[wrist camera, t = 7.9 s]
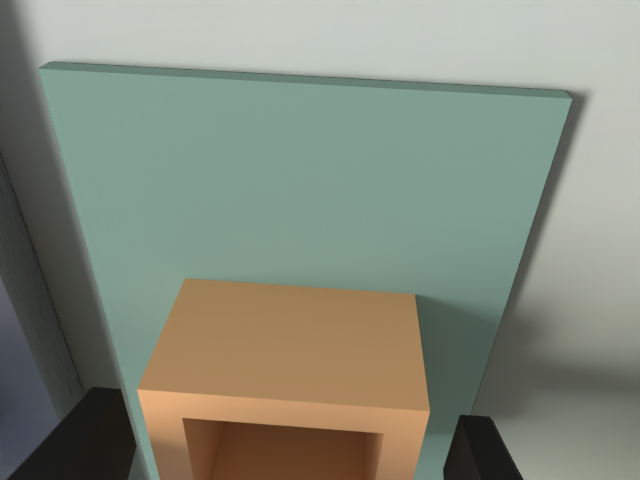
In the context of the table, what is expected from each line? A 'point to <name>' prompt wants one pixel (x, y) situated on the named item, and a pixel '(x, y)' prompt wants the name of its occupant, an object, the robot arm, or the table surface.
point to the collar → (286, 384)
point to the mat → (306, 201)
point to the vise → (28, 345)
